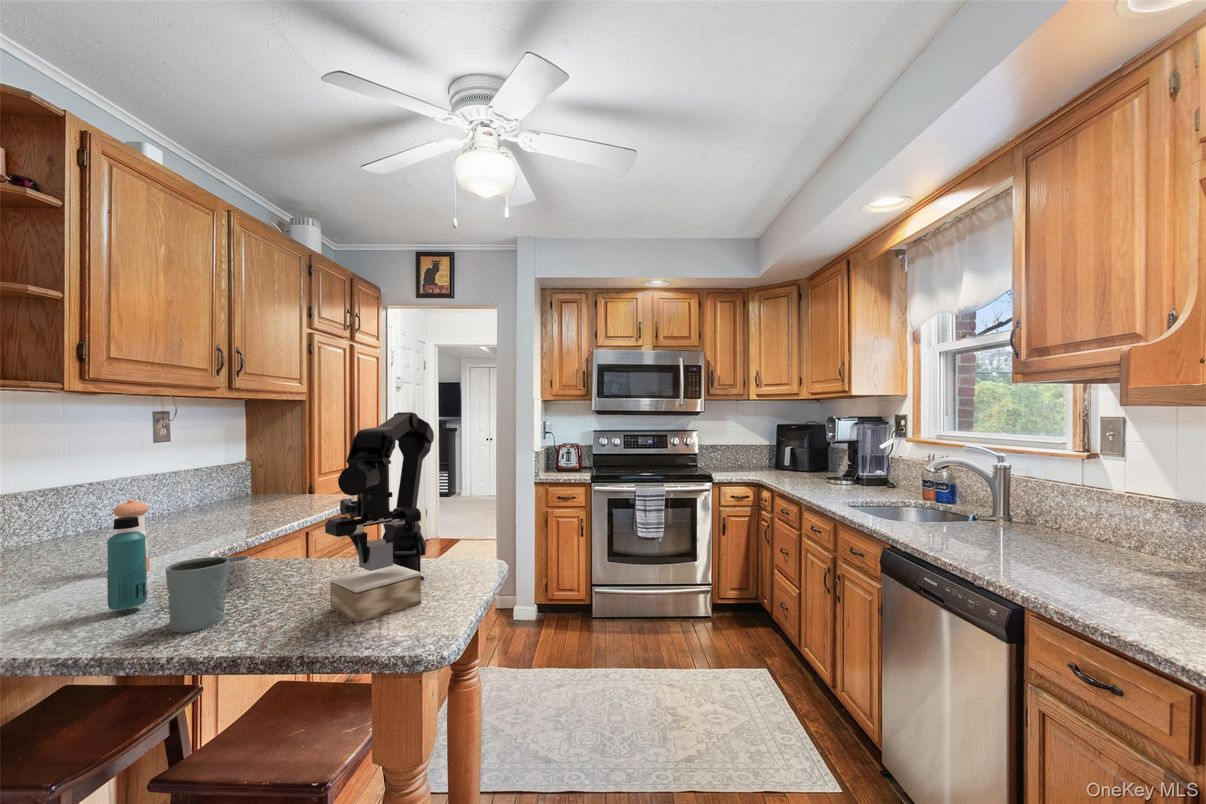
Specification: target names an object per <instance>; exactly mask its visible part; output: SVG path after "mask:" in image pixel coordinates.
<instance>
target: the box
mask: <svg viewBox="0 0 1206 804" xmlns="http://www.w3.org/2000/svg"><path fill="white" fill-rule="evenodd" d="M421 581H422V580H421V577H419V576H416V577H413V578H409V579H405V580H401V581H398V582H394V583H390V584H387V585H383V586H379V587H376V588H372V589H368V590H365V591H361V592H357V593H356V592H353V591H351V590H349V589H347V588H344V587H342V586H340V585H337V584H335V583H333V582H330V581H329V582H330V583H329V586H330V587H329V589H330V591H329V592H330V595H329V596H330V609H331V608H332V609H334V610H335V611H337V612H338V614H339V613H340V614H339V615H341V614H342V615H341V616H343V615H344V616H343V617H344V618H346V617H348V618H349V620H350V619H351V620H350V621H352V620H353V621H352V622H354V623H356V624H358V622H359V623H361V621H362V622H364V621H363V620H365V621H368V620H371V619H374V618H377V616H378V617H381V616H384V615H387V614H389V612H390V613H392V612H391V611H394V612H396V611H395V610H397V611H399V610H398V609H400V610H402V609H406V608H409V607H413V606H416V605H418V603H419V604H421V603H422V589H421V588H422V582H421ZM415 604H416V605H415ZM332 609H331V610H332ZM335 611H334V612H335ZM337 612H336V613H337ZM386 613H387V614H386ZM383 614H384V615H383ZM380 615H381V616H380ZM348 618H347V619H348ZM370 618H371V619H370ZM367 619H368V620H367Z"/></svg>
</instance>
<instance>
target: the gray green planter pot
mask: <svg viewBox="0 0 1206 804" xmlns="http://www.w3.org/2000/svg"><path fill="white" fill-rule="evenodd" d="M228 568H229V559H228V558H226V557H225V556H224V557H222V556H212V557H211V556H209V557H200V558H192V559H187V560H186V559H185V560H182V561H179V562H175V563H173V564H169V565H167V566H166V567H165V575H166V589H167V591H168V596H167V599H168V601H167V602H168V609H169V611H170V612H169V617H168V618H169V628H170V631H171V630H172V631H171V632H173V633H177V632H179V633H181V632H184V633H190V632H191V631H193V632H197V630H198V631H201V630H200V629H202V630H204V629H203V628H206V627H209V626H212V625H214V624H217V623H218V622H220V621H222V620H224V618H225V608H226V605H225V600H226V597H227V596H226V595H227V591H226V588H227V587H226V583H227V578H228ZM222 622H223V621H222ZM220 623H221V622H220ZM217 625H218V624H217ZM212 627H213V626H212ZM209 628H210V627H209ZM206 629H207V628H206ZM179 633H178V634H179ZM191 633H192V632H191Z"/></svg>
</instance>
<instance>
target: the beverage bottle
mask: <svg viewBox="0 0 1206 804" xmlns="http://www.w3.org/2000/svg"><path fill="white" fill-rule="evenodd" d="M138 526H139V521H138V517H136V516H131V517H122V518H115V519H114V521H113V526H112V527H113V530H117V529H127V528H134V527H138ZM146 538H147V535H146V536H145V535H144V534H142V533H141V532H138V531H133V532H123V533H118V534H117V533H115V534H113V535H112V536H111V537H110V538H108V539H107V541H106V545H107V546H106V547H107V548H106V549H107V553H106V554H107V556H106V557H107V571H106V576H107V577H106V580H107V581H106V583H107V585H106V588H107V589H106V590H107V594H106V597H107V600H106V602H107V603H106V605H107V607H108V609H110V610H113V611H115V610H116V611H117V610H125V609H131V608H134V607H138V606H141V605H143V604H145V603H146V602H147V600H148V593H149V592H148V591H149V590H148V584H147V582H148V579H147V574H148V572H147V570H146V558H147V557H146V543H145V539H146Z"/></svg>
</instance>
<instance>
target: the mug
mask: <svg viewBox="0 0 1206 804" xmlns="http://www.w3.org/2000/svg"><path fill="white" fill-rule="evenodd" d="M225 558H228V559H229V568H228V578H227V583H226V587H227V588H226V592H229V591H228V590H234V589H239V588H242V587H245V586H247V585H249V584H250V585H251V556H250V555H243V554H241V555H234V556H233V555H232V556H227V557H225ZM250 585H249V586H250ZM245 588H246V587H245ZM242 589H243V588H242ZM239 590H240V589H239ZM234 591H235V590H234Z"/></svg>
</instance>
